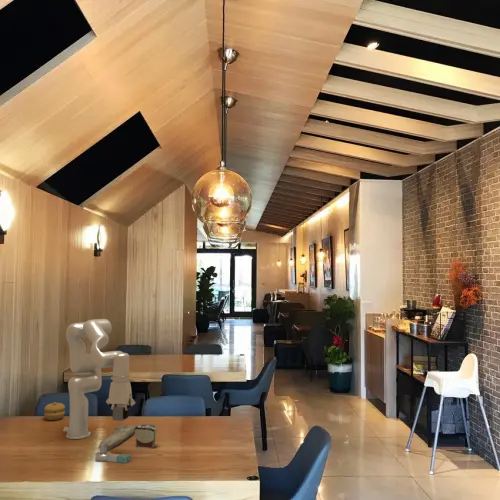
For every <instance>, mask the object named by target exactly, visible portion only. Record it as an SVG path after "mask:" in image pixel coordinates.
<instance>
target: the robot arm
mask: <svg viewBox="0 0 500 500" xmlns="http://www.w3.org/2000/svg"><path fill="white" fill-rule="evenodd" d="M112 329H113V328H112V324H111V322H110V320H109V319H106V318H99V319H98V318H95V319H94V318H93V319H88V320H87V321H85V322H83V321H81V322H73V323H70V325H68V327H67V328H66V332H65V335H66V341H67V344H68V347H69V368H70V370H71V372H72V373H73V374H81V373H88V372H89V374H81V375H76V376H73V377H71V378H70V379H69V380H68V382H67V388H68V395H69V417H68V419H69V421H68V424H69V425H68V426H64V428H63V432H67V433H66V434H65V437H66V439H69V440H82V439H86V438H89V437H90V436H91V435H92V432H91V431H90V430H89V399H88V398H87V396H85V394H87V393H94V392H98V391H99V390H100V389H101V387H102V385H103V384H102V383H103V382H102V379H103V378H102V369H106V368H107V369H108V368H112V376H110V380H112V382H111V381H110V387H109V393H108V398H107V399H106V401H105V403H106V404H107V405H108V406H109V408H110V410H111V411H112V412H111V417H113V407H114V406H116V405H124V408H125V410H124V419H125V420H127V419H128V418H129V414H130V409H131V408H132V407H133V406H134V405H135V404H136V401H135V399H133V394H132V393H133V392H132V386H131V382H130V355H129V354H128V353H127V352H123V351H121V350H112V351H110V350H109V351H104V352H103V351H100V350H101V349H103V348H104V347H106V346H107V344H108V343H109V340H110V337H109V336H108V335H109V334H110V333H111V332H112ZM82 339H89V342H90V343H91V347H90V352H89V353H87V345H86V344H85V342H84V341H83V340H82ZM126 418H127V419H126Z"/></svg>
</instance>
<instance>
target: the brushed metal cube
mask: <svg viewBox="0 0 500 500" xmlns="http://www.w3.org/2000/svg"><path fill="white" fill-rule="evenodd" d="M124 410H125V408H124V405H120V404H117V405H116V406H114V407H113V416H112V421H118V422H119V421H120V422H121V421H122V422H124V421H125V420H127V419H128V418H126V419H124Z"/></svg>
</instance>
